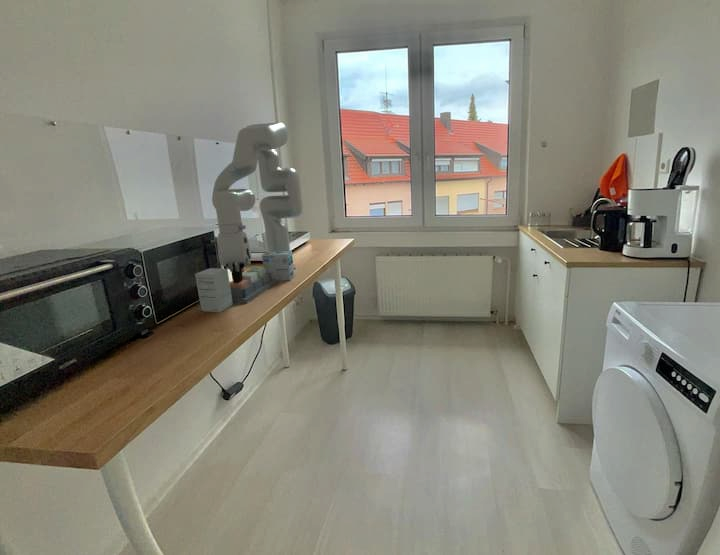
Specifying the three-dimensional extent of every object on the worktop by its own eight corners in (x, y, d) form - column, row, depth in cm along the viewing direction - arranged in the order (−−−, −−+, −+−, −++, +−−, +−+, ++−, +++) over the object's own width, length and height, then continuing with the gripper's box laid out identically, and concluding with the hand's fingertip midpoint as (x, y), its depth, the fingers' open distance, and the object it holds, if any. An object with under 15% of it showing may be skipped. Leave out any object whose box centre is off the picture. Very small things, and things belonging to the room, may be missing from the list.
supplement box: (215, 303, 144) (209, 267, 141) (233, 305, 141) (228, 268, 138) (200, 311, 137) (194, 273, 134) (219, 312, 135) (213, 274, 131)
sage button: (254, 277, 163) (253, 267, 162) (266, 277, 162) (265, 267, 161) (248, 281, 158) (246, 270, 157) (260, 281, 157) (259, 270, 156)
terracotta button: (237, 290, 150) (235, 279, 149) (250, 290, 149) (248, 279, 148) (229, 295, 146) (228, 283, 145) (243, 295, 145) (241, 283, 144)
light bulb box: (295, 276, 173) (292, 250, 170) (291, 280, 167) (288, 253, 164) (269, 277, 174) (266, 251, 171) (264, 281, 168) (261, 255, 165)
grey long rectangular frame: (252, 282, 167) (251, 271, 166) (276, 283, 165) (274, 271, 163) (220, 303, 144) (218, 290, 143) (246, 303, 142) (245, 290, 141)
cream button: (245, 282, 157) (244, 272, 156) (258, 282, 155) (257, 272, 154) (239, 286, 152) (237, 275, 151) (252, 286, 151) (250, 275, 150)
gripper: (256, 226, 143) (263, 279, 148) (216, 227, 147) (224, 279, 152) (245, 230, 136) (253, 285, 141) (204, 231, 140) (212, 285, 145)
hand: (238, 281), depth 146 cm, fingers closed
